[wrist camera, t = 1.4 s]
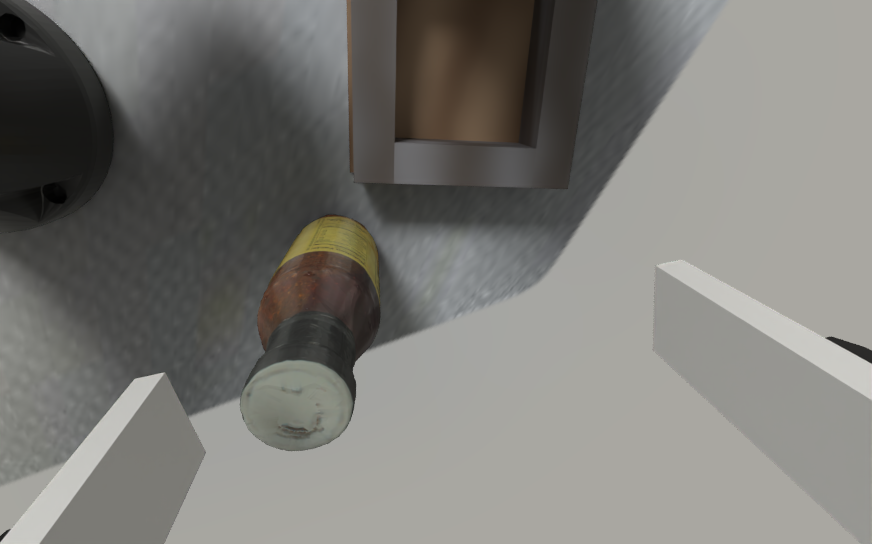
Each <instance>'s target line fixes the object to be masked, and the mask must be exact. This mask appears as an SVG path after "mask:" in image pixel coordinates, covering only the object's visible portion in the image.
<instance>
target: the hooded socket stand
mask: <svg viewBox="0 0 872 544" xmlns="http://www.w3.org/2000/svg"><path fill="white" fill-rule="evenodd" d="M596 6H597V0H347V41H348V95H349V148H350V172H354V182H355V183H388V184H420V185H453V186H485V187H517V188H550V189H568V184H569V177H570V171H571V165H572V158H573V152H574V146H575V139H576V133H577V126H578V120H579V114H580V107H581V101H582V95H583V88H584V82H585V76H586V69H587V63H588V56H589V50H590V44H591V37H592V31H593V25H594V18H595V12H596Z"/></svg>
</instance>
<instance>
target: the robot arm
mask: <svg viewBox="0 0 872 544" xmlns="http://www.w3.org/2000/svg"><path fill="white" fill-rule="evenodd" d="M112 152H113V125H112V119H111V114H110V110H109V106H108V103H107V100H106V97H105V94H104V91H103V89H102V87H101V85H100V82H99V80H98V78H97V76H96V75H95V73H94V71H93V69H92V68H91V66H90V64H89V63H88V61H87V60H86V58H85V57H84V55H83V54H82V53H81V51H80V50H79V49H78V47H77V46H76V45H75V44H74V42H73V41H72V40H71V39H70V38H69V37H68V36H67V35H66V34H65V33H64V32H63V31H62V30H61V29H60V28H59V27H58V26H57V25H56V24H55V23H54V22H53V21H52V20H51V19H50V18H48V17H47V16H46V15H45V14H43V13H42V12H41V11H40V10H38V9H37V8H35V7H34V6H33V5H31V4H30V3H28V2H27V1H25V0H0V233H7V232H15V231H21V230H26V229H30V228H34V227H37V226H40V225H43V224H46V223H48V222H51V221H54V220H57V219H59V218H62V217H64V216H66V215H68V214H70V213H72V212H74V211H75V210H77V209H79V208H80V207H81V206H83V205H84V204H85V203H86V202H87V201H88V200H89V199H90V198H91V197H92V196H93V195H94V194H95V193H96V191H97V190H98V189H99V187H100V186H101V184H102V182H103V181H104V178H105V176H106V174H107V172H108V169H109V166H110V162H111V158H112ZM654 290H655V291H654V325H653V351H654V352H655V353H656V354H657V355H658V356H660V357H661V358H662V359H663V360H664V361H665V362H666V363H667V364H668V365H669V366H670V367H671V368H672V369H674V370H675V371H676V372H677V373H678V374H679V375H680V376H681V377H682V378H683V379H684V380H685V381H687V382H688V383H689V384H690V385H691V386H692V387H693V388H694V389H695V390H696V391H697V392H698V393H700V395H701V396H703V397H704V398H705V399H706V400H707V401H708V402H709V403H710V404H711V405H712V406H713V407H714V408H715V409H717V410H718V411H719V412H720V413H721V414H722V415H723V416H724V417H725V418H726V419H728V421H729V422H731V423H732V424H733V425H734V426H735V427H736V428H737V429H738V430H739V431H740V432H741V433H742V434H743V435H744V436H745V437H747V438H748V439H749V440H750V441H751V442H752V443H753V444H754V445H755V446H756V447H757V448H758V449H759V450H761V451H762V452H763V453H764V454H765V455H766V456H767V457H768V458H769V459H770V460H771V461H772V462H773V463H774V464H776V465H777V466H778V467H779V468H780V469H781V470H782V471H783V472H784V473H785V474H786V475H788V476H789V477H790V478H791V479H792V480H793V481H794V482H795V483H796V484H797V485H798V486H799V487H800V488H801V489H802V490H804V491H805V492H806V493H807V494H808V495H809V496H810V497H811V498H812V499H813V500H814V501H815V502H816V503H817V504H819V505H820V506H821V507H822V508H823V509H824V510H825V511H826V512H827V513H828V514H829V515H830V516H832V517H833V518H834V519H835V520H836V521H837V522H838V523H839V524H840V525H841V526H842V527H843V528H844V529H845V530H846V531H848V532H849V533H850V534H851V535H852V536H853V537H854V538H855V539H856V540H857V541H858V542H859V543H861V544H872V351H871V350H869V349H867V348H865V347H862V346H859V345H856V344H853V343H850V342H847V341H844V340H841V339H837V338H834V337H827V338H824V337H822V336H820V335H818V334H817V333H815V332H813V331H811V330H809V329H807V328H805V327H803V326H802V325H800V324H798V323H797V322H795V321H793V320H791V319H789V318H787V317H786V316H784V315H782V314H780V313H778V312H777V311H775V310H773V309H771V308H769V307H767V306H766V305H764V304H762V303H760V302H758V301H757V300H755V299H753V298H751V297H749V296H747V295H746V294H744V293H742V292H740V291H738V290H737V289H735V288H733V287H731V286H729V285H727V284H726V283H724V282H722V281H720V280H718V279H716V278H714V277H713V276H711V275H709V274H707V273H705V272H704V271H702V270H700V269H698V268H696V267H695V266H693V265H691V264H689V263H687V262H686V261H684V260H677V261H672V262H668V263H664V264H659V265H655V287H654ZM205 453H206V452H205V450H204V448H203V446H202V444H201V442H200V440H199V438H198V436H197V434H196V432H195V430H194V428H193V426H192V424H191V422H190V420H189V418H188V416H187V414H186V412H185V410H184V408H183V406H182V404H181V403H180V401H179V399H178V397H177V395H176V393H175V391H174V389H173V387H172V385H171V383H170V381H169V379H168V377H167V375H166V373H165V372H164V373H159V374H155V375H150V376H146V377H141V378H136V379H134V380H133V382H132V383H131V384H130V385H129V386H128V388H127V389H126V390H125V391H124V392H123V394H122V395H121V396H120V397H119V399H118V400H117V401H116V402H115V403H114V405H113V406H112V407H111V408H110V409H109V411H108V412H107V413H106V414H105V416H104V417H103V418H102V419H101V420H100V422H99V423H98V424H97V425H96V427H95V428H94V429H93V430H92V431H91V433H90V434H89V435H88V436H87V437H86V439H85V440H84V441H83V442H82V444H81V445H80V446H79V447H78V448H77V450H76V451H75V452H74V453H73V455H72V456H71V457H70V458H69V459H68V461H67V462H66V463H65V464H64V465H63V467H62V468H61V469H60V470H59V472H58V473H57V474H56V475H55V477H54V478H53V479H52V480H51V481H50V483H49V484H48V485H47V486H46V487H45V489H44V490H43V491H42V492H41V493H40V495H39V496H38V497H37V498H36V500H35V501H34V502H33V503H32V504H31V506H30V507H29V508H28V509H27V510H26V512H25V513H24V514H23V515H22V517H21V518H20V519H19V520H18V521H17V523H16V524H15V525H14V527H13V528H12V529H9V530H7V531H6V532H4V533H3V534H2V535H1V536H0V544H164V543H165V540H166V538H167V536H168V534H169V532H170V529H171V527H172V525H173V523H174V521H175V518H176V516H177V514H178V512H179V510H180V507H181V505H182V503H183V501H184V499H185V497H186V494H187V493H188V490H189V488H190V486H191V484H192V482H193V479H194V477H195V475H196V473H197V471H198V469H199V466H200V464H201V462H202V460H203V458H204V455H205Z"/></svg>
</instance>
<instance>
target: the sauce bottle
mask: <svg viewBox="0 0 872 544" xmlns="http://www.w3.org/2000/svg"><path fill="white" fill-rule="evenodd" d="M257 316H258V321H257V326H258V331H259V335H260V338H261V341H262V345H263V349H264V350H265V354H264V355H262V357H261V358H259V359H258V361H257V363H256V365H255V367H254V368H253V369H252V371H251V373H250V375H249V377H248V379H247V381H246V383H245V386H244V388H243V391H242V394H241V399H240V410H241V413H242V416H243V420H244V422H245V423H246V425H247V427H248V429H249V431H250V432H251V433H252V434H253V435H255V437H257V438H258V439H259V440H261V441H262V442H264V443H265V444H267V445H269V446H272V447H275V448H278V449H281V450H286V451H302V450H308V449H313V448H316V447H319V446H322V445H325V444H328V443H330V442H331V441H332V440H334V439H335V438H337V437H339V436H340V434H341V433H342V432H343V431H344V430H345V429H346V428H347V426H348V424H349V422H350V420H351V417H352V414H353V410H354V403H355V398H356V381H355V379H354V375H353V367H354V365H355V362H356V360H357V359H358V358H359V357H360V356H361V355H362V354H363V353H364V352H365V351H366V350H367V349H368V348H369V346H370V345H371V344H372V342H373V341H374V339H375V337H376V334H377V332H378V328H379V324H380V285H379V264H378V252H377V247H376V244H375V242H374V240H373V238H372V236H371V235H370V234H369V232H368V231H367V230H366V228H365V227H364V226H363V225H362V224H361V223H359V222H357V221H355V220H353V219H350V218H348V217H344V216H338V215H326V216H325V217H322V218H319V219H317V220H315V221H313V222H311V223H310V224H308V225H307V226H306V227H305V228H303V230H302V231H301V233H300V234H299V235H298V236H297V237H296V239H295V241H294V242H293V244H292V245H291V247H290V249H289V250H288V252H287V253H286V255H285V257H284V259H283V260H282V262H281V263H280V265H279V267H278V268H277V270H276V272H275V273H274V275H273V277H272V279H271V280H270V283H269V285H268V288H267V290H266V291H265V293H264V296H263V298H262V300H261V304H260V307H259V311H258V315H257Z"/></svg>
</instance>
